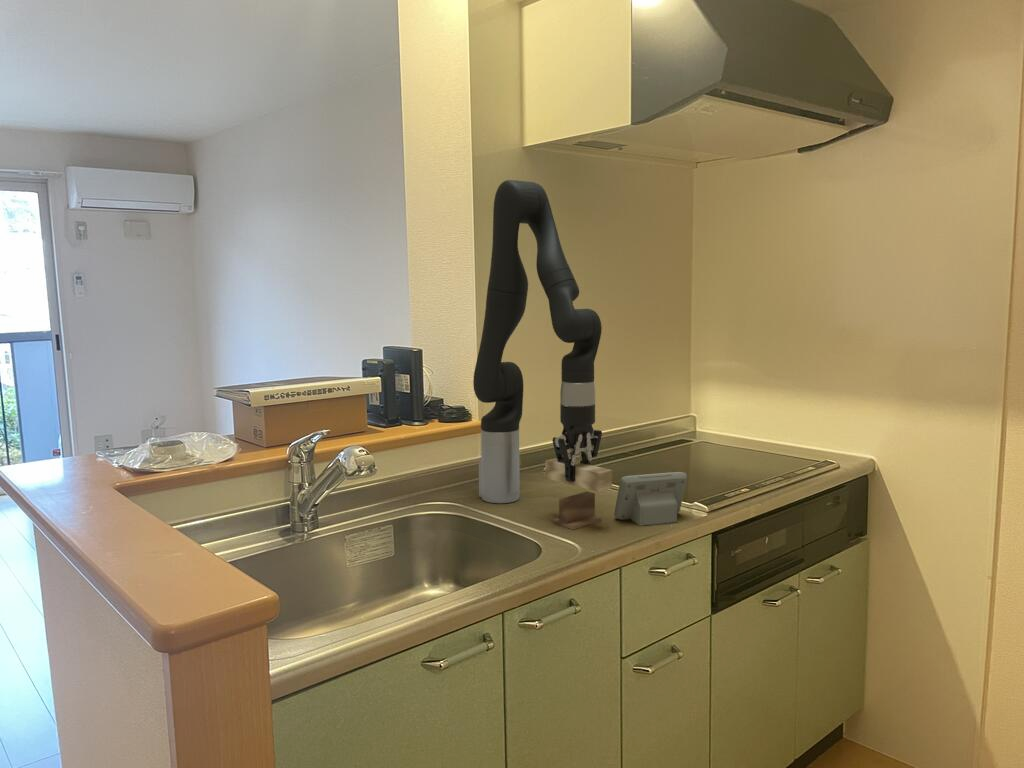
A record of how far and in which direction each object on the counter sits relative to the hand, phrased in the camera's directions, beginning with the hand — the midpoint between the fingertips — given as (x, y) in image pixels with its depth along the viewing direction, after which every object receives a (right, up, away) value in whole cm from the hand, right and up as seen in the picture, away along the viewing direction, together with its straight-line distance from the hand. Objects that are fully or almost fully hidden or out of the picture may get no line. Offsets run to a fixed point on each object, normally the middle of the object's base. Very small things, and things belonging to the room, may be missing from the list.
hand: (577, 479), depth 170 cm
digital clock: (+16, -10, +4) cm, 19 cm away
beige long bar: (0, -1, 0) cm, 1 cm away
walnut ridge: (0, -10, +1) cm, 10 cm away
